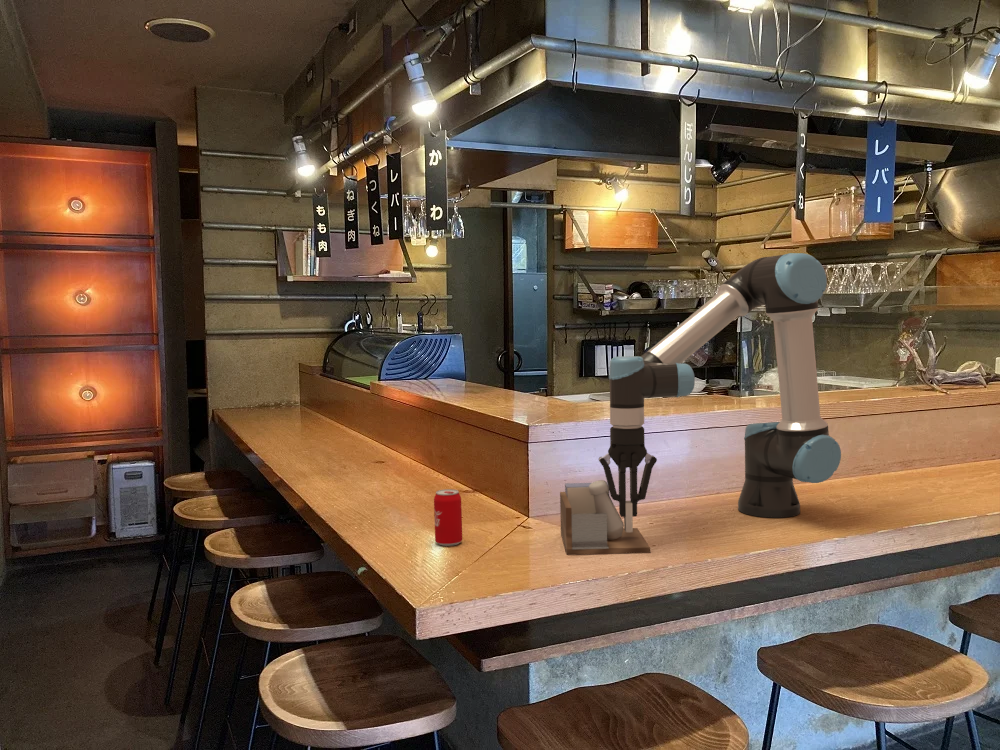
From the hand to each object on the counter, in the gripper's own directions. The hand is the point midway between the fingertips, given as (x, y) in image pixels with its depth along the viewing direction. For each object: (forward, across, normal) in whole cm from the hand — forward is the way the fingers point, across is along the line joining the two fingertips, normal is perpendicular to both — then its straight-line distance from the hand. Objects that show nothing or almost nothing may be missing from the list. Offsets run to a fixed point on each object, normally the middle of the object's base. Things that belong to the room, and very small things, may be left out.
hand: (628, 530), depth 177 cm
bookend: (+2, +9, +6) cm, 11 cm away
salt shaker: (+1, +3, 0) cm, 4 cm away
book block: (+2, +8, -7) cm, 11 cm away
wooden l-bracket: (+3, +6, -1) cm, 6 cm away
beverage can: (+3, +40, -4) cm, 41 cm away
